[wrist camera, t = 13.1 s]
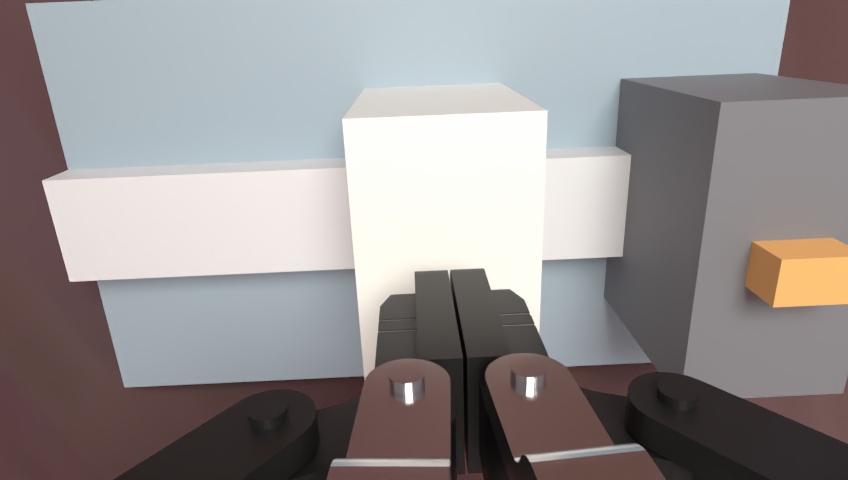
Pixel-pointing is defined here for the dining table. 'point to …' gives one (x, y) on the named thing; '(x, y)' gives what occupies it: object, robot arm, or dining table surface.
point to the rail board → (301, 114)
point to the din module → (444, 191)
